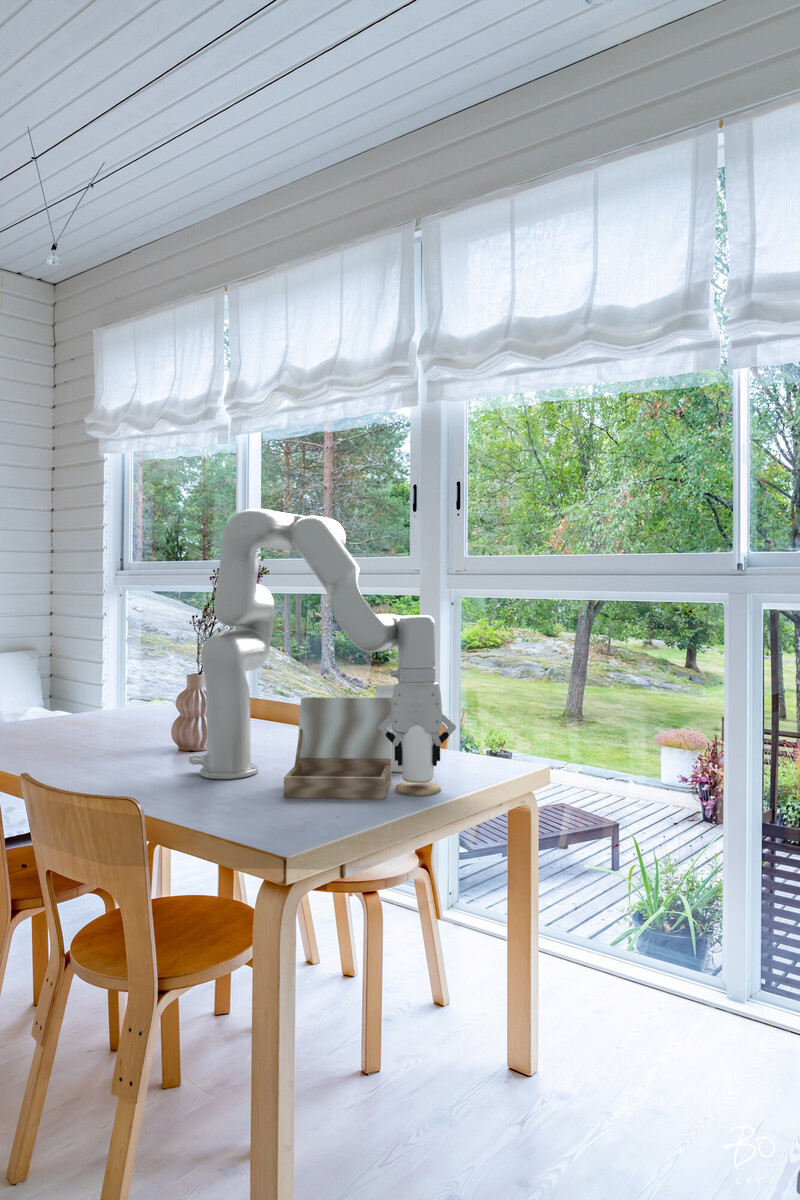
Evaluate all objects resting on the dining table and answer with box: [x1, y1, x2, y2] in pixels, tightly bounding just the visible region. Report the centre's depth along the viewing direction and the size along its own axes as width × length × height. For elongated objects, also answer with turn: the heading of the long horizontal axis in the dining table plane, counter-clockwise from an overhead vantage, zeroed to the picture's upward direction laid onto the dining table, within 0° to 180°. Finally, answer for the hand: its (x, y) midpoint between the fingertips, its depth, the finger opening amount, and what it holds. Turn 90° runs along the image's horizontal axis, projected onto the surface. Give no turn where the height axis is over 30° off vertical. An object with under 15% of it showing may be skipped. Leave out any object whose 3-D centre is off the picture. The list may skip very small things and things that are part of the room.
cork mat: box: [395, 781, 441, 797], centre depth 162 cm, size 9×9×1 cm
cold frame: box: [283, 697, 392, 800], centre depth 165 cm, size 20×18×17 cm
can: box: [401, 722, 435, 783], centre depth 161 cm, size 6×6×12 cm
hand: (417, 763), depth 161 cm, fingers closed on can, 6 cm apart
